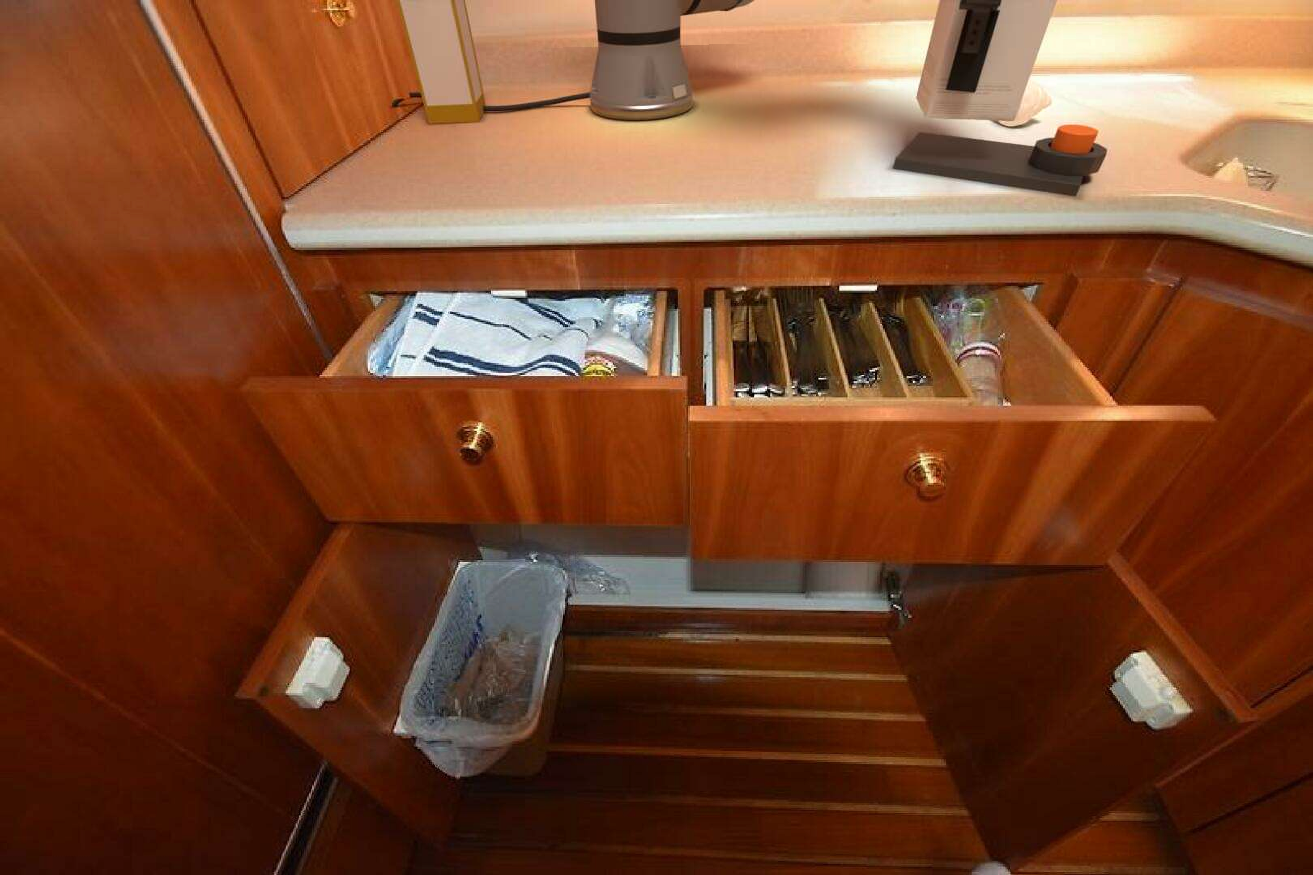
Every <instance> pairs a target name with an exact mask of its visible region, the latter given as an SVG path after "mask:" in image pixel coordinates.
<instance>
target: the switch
mask: <svg viewBox="0 0 1313 875" xmlns="http://www.w3.org/2000/svg"><path fill="white" fill-rule="evenodd" d="M1098 134H1099V130H1098V129H1096V128H1094V127H1091V126H1088V125H1082V124H1061V125H1059V126H1058V127H1057V129H1056V132H1055V134H1054V137H1053V138H1054V139H1053V142H1052V144H1051V147H1050V148H1052V149H1054V150H1058V151H1061V152H1067V153H1075V154H1078V153H1089V152H1090V150H1091V148H1092V145H1093V143H1095V141H1096V139H1097V136H1098Z"/></svg>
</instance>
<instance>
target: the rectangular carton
mask: <svg viewBox="0 0 1313 875" xmlns="http://www.w3.org/2000/svg"><path fill="white" fill-rule="evenodd" d="M960 1H961V0H939V1H938V5H937V9H936V14H935V17H934V21H933V26H932V30H931V34H930V35H931V36H930V38H929V43H928V45H927V46H928V47H927V50H926V55H925V59H924V64H923V67H922V71H921V75H920V80H919V83H918V88H917V91H916V97H915V100H916V101H917V103H918V106H919V108H920V110H921V112H922V114H923V116H924V118H925V119H936V120H974V121H998V120H1001V121H1014V120H1015V117H1016V114H1017V112H1018V109H1019V106H1020V103H1021V100H1022V97H1023V94H1024V92H1025V89H1026V86H1027V83H1028V80H1029V78H1030V77H1031V75H1032V71H1033V69H1034V65H1035V63H1036V60H1037V57H1038V55H1039V52H1040V50H1041V46H1042V43H1043V40H1044V38H1045V34H1046V32H1047V29H1048V28H1049V27H1048V26H1049V23H1050V21H1051V18H1052V16H1053V12H1054V10H1055V7H1056V4H1057V1H1058V0H1002V2H1001V5H1000V6H999V7H998V9H997V10H1000V13H999V16H998V19H997V23H996V26H995V29H994V33H993V36H992V39H991V43H990V46H989V49H988V53H987V56H986V59H985V63H984V66H983V69H982V72H981V76H980V79H979V82H978V86H977V89H976V92H975V93H972V92H961V91H950V90H946V87H947V83H948V79H949V76H950V72H951V68H952V64H953V61H954V57H955V53H956V50H957V46H958V42H959V38H960V35H961V31H962V27H963V24H964V20H965V16H966V12H967V10H960V9H959V6H960Z"/></svg>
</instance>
